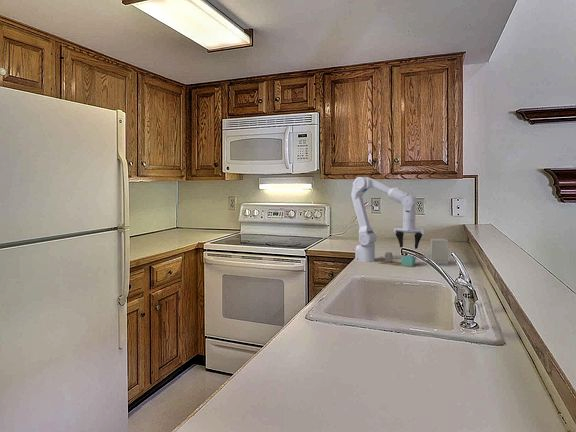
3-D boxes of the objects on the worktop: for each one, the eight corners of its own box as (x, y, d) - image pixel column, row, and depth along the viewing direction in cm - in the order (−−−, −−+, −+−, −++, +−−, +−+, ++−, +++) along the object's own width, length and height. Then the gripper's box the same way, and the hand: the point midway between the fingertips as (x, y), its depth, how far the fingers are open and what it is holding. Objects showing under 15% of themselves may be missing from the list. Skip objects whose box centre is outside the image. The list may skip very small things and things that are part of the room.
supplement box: (448, 266, 191) (448, 240, 190) (432, 266, 193) (432, 240, 192) (445, 263, 199) (446, 238, 198) (430, 262, 200) (430, 238, 199)
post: (385, 262, 197) (385, 252, 197) (387, 261, 199) (387, 252, 199) (390, 263, 195) (390, 253, 195) (392, 262, 198) (392, 252, 197)
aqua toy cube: (401, 265, 191) (401, 251, 190) (404, 263, 195) (405, 250, 194) (412, 266, 188) (412, 252, 187) (415, 264, 192) (415, 251, 191)
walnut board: (377, 265, 196) (377, 263, 196) (384, 262, 203) (384, 260, 203) (413, 269, 186) (413, 267, 186) (419, 266, 193) (419, 264, 193)
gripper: (391, 219, 191) (391, 247, 192) (421, 221, 182) (421, 250, 183) (396, 218, 196) (396, 245, 197) (426, 220, 188) (425, 248, 189)
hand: (408, 247), depth 191 cm, fingers open, 7 cm apart
